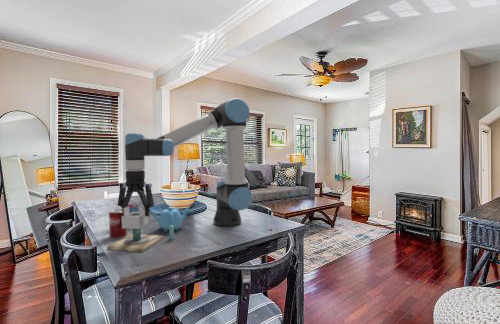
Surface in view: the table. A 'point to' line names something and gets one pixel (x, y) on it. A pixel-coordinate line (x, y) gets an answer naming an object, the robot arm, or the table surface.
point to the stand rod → (171, 232)
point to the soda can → (116, 224)
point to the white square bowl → (134, 220)
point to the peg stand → (135, 242)
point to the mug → (134, 208)
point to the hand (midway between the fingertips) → (136, 222)
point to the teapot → (170, 218)
